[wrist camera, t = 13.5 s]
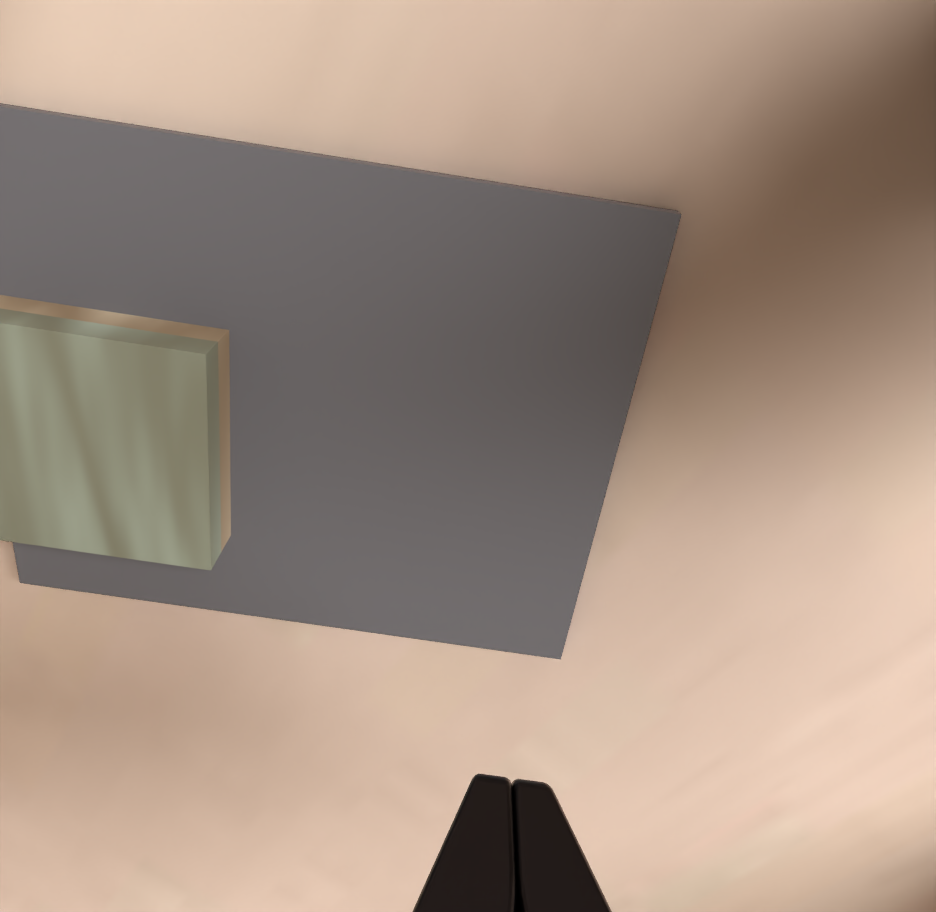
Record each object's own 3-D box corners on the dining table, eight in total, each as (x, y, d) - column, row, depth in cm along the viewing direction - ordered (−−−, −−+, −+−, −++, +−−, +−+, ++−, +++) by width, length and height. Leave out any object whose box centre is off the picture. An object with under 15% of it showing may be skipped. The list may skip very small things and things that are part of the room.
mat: (677, 210, 17) (681, 214, 16) (559, 649, 23) (560, 659, 23) (-56, 94, 16) (-68, 95, 16) (27, 574, 23) (20, 582, 22)
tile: (206, 354, 17) (-70, 312, 17) (210, 570, 20) (-24, 536, 19) (229, 330, 18) (-25, 291, 18) (230, 535, 21) (12, 503, 21)
